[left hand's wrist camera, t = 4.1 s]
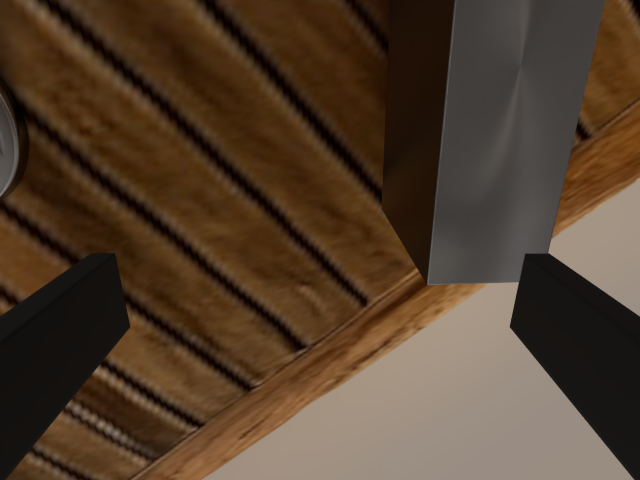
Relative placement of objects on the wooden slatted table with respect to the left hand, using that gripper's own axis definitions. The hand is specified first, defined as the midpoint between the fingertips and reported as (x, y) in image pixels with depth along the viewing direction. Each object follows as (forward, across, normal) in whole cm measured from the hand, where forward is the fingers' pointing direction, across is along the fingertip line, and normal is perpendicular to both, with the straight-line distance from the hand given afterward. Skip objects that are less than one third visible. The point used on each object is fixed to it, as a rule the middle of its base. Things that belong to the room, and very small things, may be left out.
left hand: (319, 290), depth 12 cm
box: (+19, -8, -7) cm, 21 cm away
